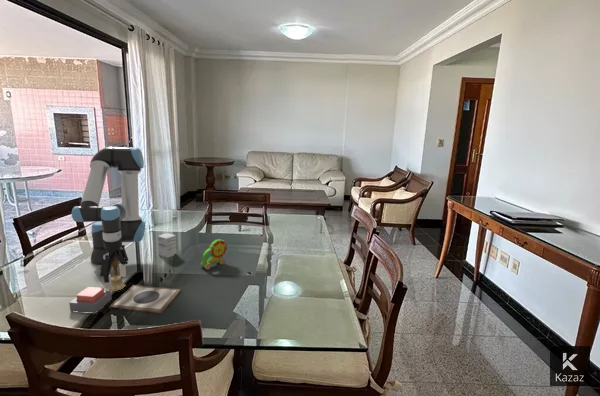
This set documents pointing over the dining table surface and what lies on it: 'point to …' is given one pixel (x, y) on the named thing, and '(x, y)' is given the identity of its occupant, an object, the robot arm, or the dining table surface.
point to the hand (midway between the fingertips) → (116, 281)
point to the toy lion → (214, 254)
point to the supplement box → (167, 245)
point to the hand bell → (116, 278)
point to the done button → (90, 294)
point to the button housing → (90, 303)
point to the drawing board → (146, 298)
